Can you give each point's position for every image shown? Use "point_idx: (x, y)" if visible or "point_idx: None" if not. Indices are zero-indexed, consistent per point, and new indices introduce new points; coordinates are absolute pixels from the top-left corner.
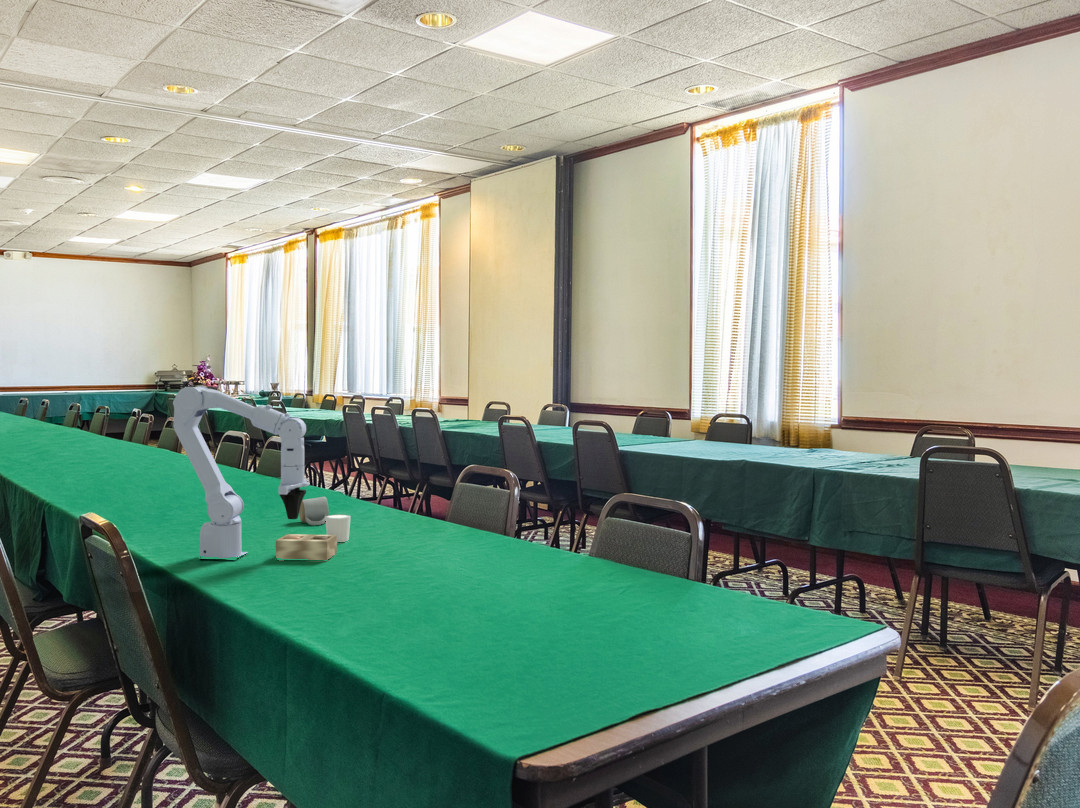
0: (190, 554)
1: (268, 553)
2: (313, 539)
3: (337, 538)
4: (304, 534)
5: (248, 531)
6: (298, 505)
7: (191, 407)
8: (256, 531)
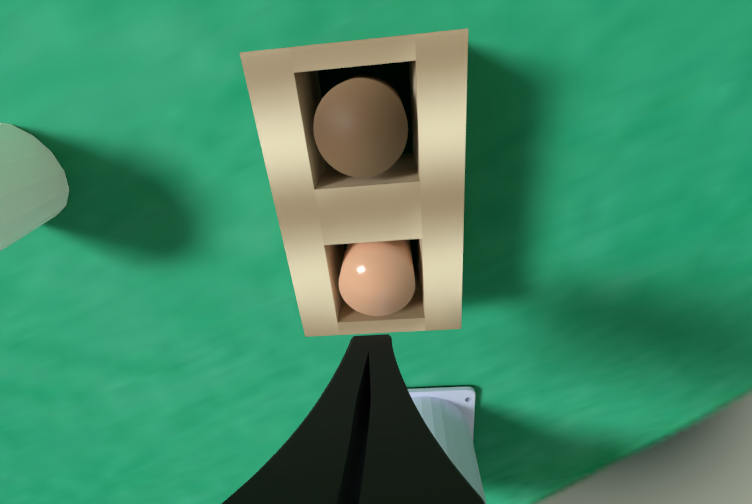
0: None
1: (338, 340)
2: (393, 162)
3: (36, 163)
4: (289, 259)
5: (78, 488)
6: (383, 406)
7: None
8: (65, 473)
